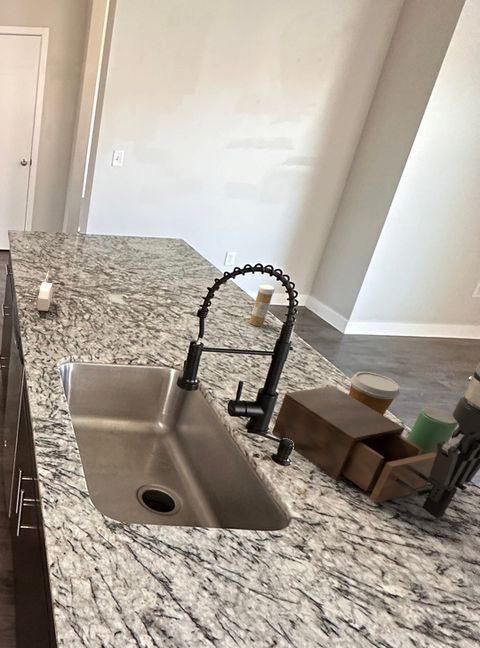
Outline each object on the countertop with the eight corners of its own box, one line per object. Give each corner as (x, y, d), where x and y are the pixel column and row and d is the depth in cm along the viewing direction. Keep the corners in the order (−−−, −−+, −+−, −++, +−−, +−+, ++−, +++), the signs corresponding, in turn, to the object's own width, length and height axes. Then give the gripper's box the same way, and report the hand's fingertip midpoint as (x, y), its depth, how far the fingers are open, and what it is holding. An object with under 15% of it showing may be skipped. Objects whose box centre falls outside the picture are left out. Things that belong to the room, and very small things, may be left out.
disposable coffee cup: (389, 427, 128) (408, 384, 123) (371, 440, 123) (391, 396, 118) (346, 408, 135) (363, 367, 130) (328, 419, 130) (344, 377, 125)
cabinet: (384, 469, 114) (404, 427, 109) (335, 480, 110) (354, 438, 105) (317, 424, 128) (332, 385, 124) (271, 432, 124) (285, 393, 120)
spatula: (57, 285, 213) (47, 284, 214) (59, 265, 210) (49, 264, 211) (48, 314, 178) (36, 313, 179) (51, 291, 175) (38, 290, 176)
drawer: (443, 506, 103) (464, 469, 99) (396, 518, 100) (415, 481, 96) (350, 443, 120) (365, 410, 116) (307, 452, 117) (320, 419, 113)
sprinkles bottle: (248, 320, 183) (259, 283, 178) (263, 323, 182) (274, 285, 176) (248, 324, 180) (259, 287, 174) (263, 328, 178) (275, 290, 172)
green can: (437, 476, 113) (466, 421, 107) (416, 481, 111) (445, 425, 105) (408, 458, 118) (435, 404, 112) (388, 462, 116) (414, 408, 110)
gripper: (491, 388, 94) (435, 492, 105) (439, 398, 91) (386, 504, 101) (542, 412, 88) (477, 519, 98) (489, 424, 84) (427, 534, 94)
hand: (431, 512), depth 99 cm, fingers closed
